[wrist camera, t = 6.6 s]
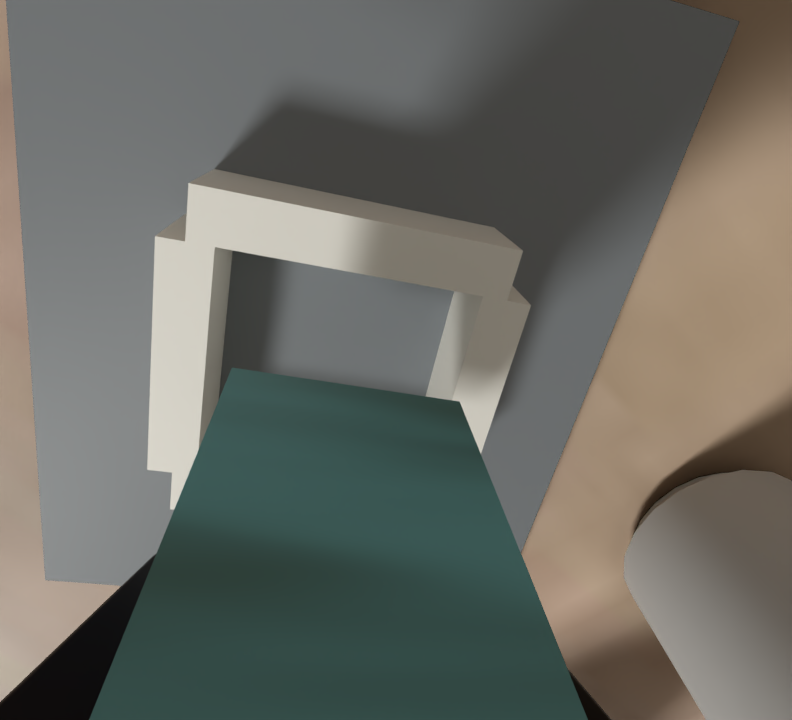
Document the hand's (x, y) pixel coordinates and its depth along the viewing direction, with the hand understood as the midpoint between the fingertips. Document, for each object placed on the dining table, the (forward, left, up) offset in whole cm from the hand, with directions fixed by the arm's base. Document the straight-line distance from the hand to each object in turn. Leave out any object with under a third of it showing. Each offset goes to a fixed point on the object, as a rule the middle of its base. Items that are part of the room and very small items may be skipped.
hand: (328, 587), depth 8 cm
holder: (0, 0, -10) cm, 10 cm away
